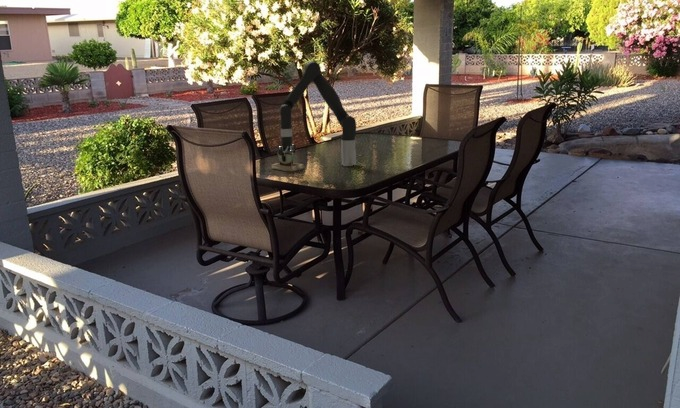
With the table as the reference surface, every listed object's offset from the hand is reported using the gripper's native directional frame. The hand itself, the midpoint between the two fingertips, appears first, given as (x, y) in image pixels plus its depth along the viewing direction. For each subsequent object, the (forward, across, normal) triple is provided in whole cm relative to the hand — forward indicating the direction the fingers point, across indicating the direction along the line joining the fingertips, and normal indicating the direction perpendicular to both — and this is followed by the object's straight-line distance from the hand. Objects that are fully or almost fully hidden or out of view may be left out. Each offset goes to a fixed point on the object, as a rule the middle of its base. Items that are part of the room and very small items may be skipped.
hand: (287, 160), depth 387 cm
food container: (+4, 0, 0) cm, 4 cm away
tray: (+5, 0, 0) cm, 5 cm away
